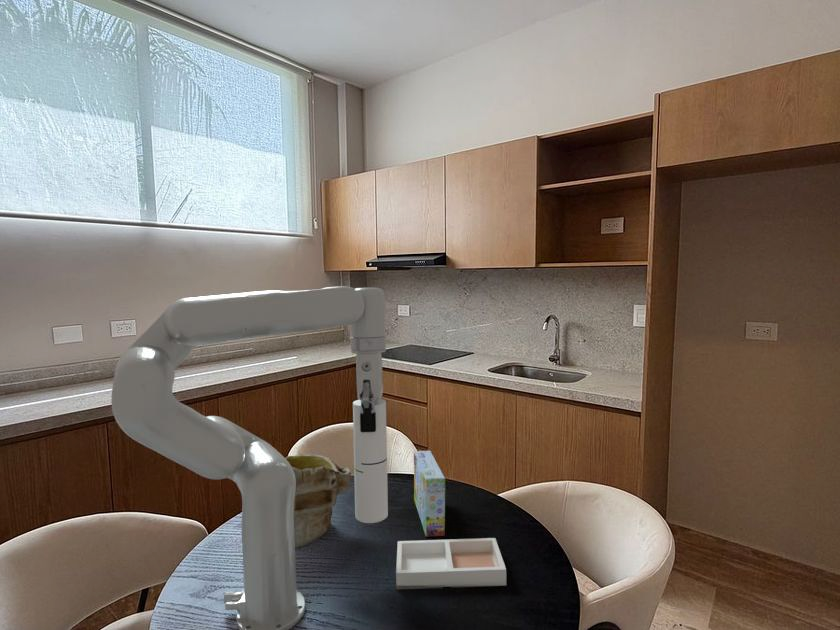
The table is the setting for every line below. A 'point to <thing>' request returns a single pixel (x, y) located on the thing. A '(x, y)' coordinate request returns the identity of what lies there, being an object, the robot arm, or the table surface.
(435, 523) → the snack box
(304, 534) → the ceramic vessel
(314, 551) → the table surface
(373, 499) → the cylindrical container
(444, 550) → the two-bay tray
